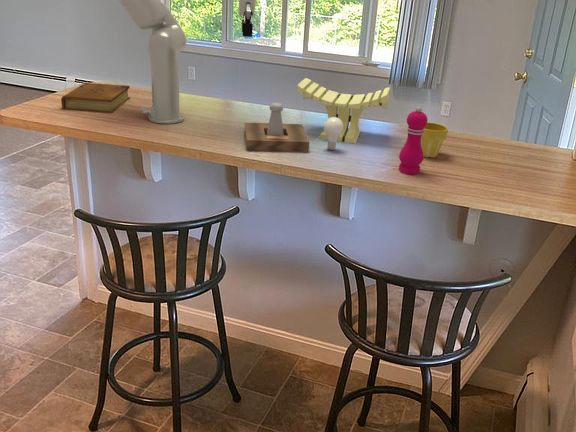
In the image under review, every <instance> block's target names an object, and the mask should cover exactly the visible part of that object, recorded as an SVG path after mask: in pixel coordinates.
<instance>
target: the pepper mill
mask: <svg viewBox="0 0 576 432" xmlns="http://www.w3.org/2000/svg"><path fill="white" fill-rule="evenodd" d="M428 120H429V119H428V116H427V114H426V113H424V112H423V108H422V106H416V108H415V111H411V112H409V113H408V114H407V117H406V123H407V127H406V128H407V129H406V132H407V137H406V141H405V143H404V145H403V147H402V148H401V149H400V152H399V155H398V159H399V161H400V163H399V166H398V171H400V172H401V173H403V174H405V175H417V174H420V171H421V164H422V162H423V161H424V157H423V151H422V147H421V137H422V134H424V127H425V126H426V124H427V122H429V121H428Z"/></svg>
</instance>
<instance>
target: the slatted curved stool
mask: <svg viewBox="0 0 576 432" xmlns="http://www.w3.org/2000/svg"><path fill="white" fill-rule="evenodd" d="M390 92H391V87H390V86H389V87H385V88H384V89H383V91H382V90H381V89H380V90H376V91H375V93H374V92H368V93H367V95H366V93H362V94H354V95H353V94H350V93H349V94H348V93H339V92H337V91H333V90H330V89H328V90H327V88H326V87H324V86H320V84H318V83H316V82H313V80H312V79H311V78H308V77H305V78H304V79H303V80H301V81H300V82H298V84H297V87H296V93H297V94H301V95H302V96H303V97H302V98H303V99H302V100H309V99H310V100H312V101H313V102H319V103H320V105H322V106H325V109H326V114H327V119H328V118H331V117H337V118H339V119H340V120H341V121H342V122H343V131H342V133H341V134H340V135H339V137H338V140H337V141H338V143H342V142H345V144H352V143H355V142H356V143H357V141H358V139H359V137H358V136H360V135H361V132H360V126H359V125H360V123H359V122H360V119H361V115H362V113H363V111H364V109H365V110H366V109H368V108H371V107H372V106H373V107H375V108H379V107H380V106H381V109H386V110H387V109H388V106H389V100H390ZM359 134H360V135H359ZM357 138H358V139H357ZM317 140H321V141H328V139H327V135H326V133H325V131H324V129H323V131H322V132H321V133H320V135H319V136H318V137H317ZM356 140H357V141H356ZM337 141H336V142H337ZM356 143H355V144H356Z"/></svg>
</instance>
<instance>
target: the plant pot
mask: <svg viewBox="0 0 576 432" xmlns="http://www.w3.org/2000/svg"><path fill="white" fill-rule="evenodd" d="M448 131H449V127H448V126H446V125H444V124H441V123H437V122H430V121H427V124H426V126H425V127H424V134H422V137H421V147H422V151H423V156H424V157H423V158H428V157H433V158H436V157H438V154H439V153H440V151H441V147H442V144H443V143H444V140H446V139H447V136H448Z"/></svg>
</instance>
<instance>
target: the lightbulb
mask: <svg viewBox="0 0 576 432" xmlns="http://www.w3.org/2000/svg"><path fill="white" fill-rule="evenodd" d="M323 130H324V131H325V133H326V135H327V139H328V140H327V149H328V151H334V150H336V147H337V140H338V137H339V135H340V134H341V133H342V131H343V122H342V121H341V120H340V119H339V118H337V117H331V118H328V117H327V119H326V120H325V121H324V124H323Z"/></svg>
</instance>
